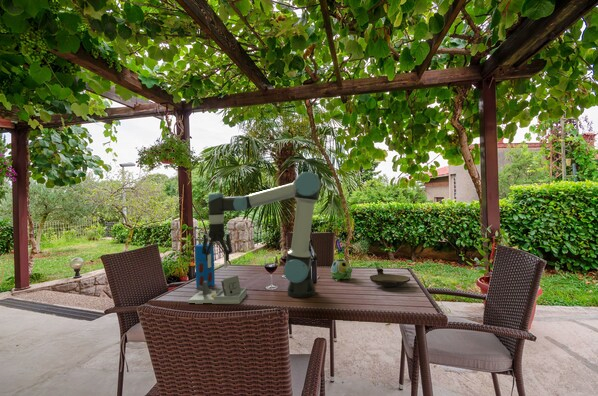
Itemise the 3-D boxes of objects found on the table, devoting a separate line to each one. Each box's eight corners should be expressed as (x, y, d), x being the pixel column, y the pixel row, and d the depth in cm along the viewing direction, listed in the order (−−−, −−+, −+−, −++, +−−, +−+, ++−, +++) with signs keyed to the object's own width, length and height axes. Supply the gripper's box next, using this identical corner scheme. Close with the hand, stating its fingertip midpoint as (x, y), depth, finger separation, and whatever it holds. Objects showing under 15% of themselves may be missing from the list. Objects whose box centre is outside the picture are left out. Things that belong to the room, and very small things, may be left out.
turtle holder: (341, 284, 175) (341, 264, 176) (327, 277, 192) (327, 259, 192) (359, 281, 180) (358, 262, 180) (344, 275, 197) (343, 257, 197)
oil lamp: (369, 291, 161) (369, 277, 161) (369, 277, 190) (369, 265, 190) (413, 293, 156) (412, 278, 156) (406, 278, 185) (406, 265, 185)
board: (246, 294, 163) (246, 287, 163) (239, 303, 148) (239, 296, 148) (200, 294, 165) (200, 288, 165) (188, 303, 150) (188, 296, 150)
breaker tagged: (207, 295, 155) (207, 280, 155) (205, 297, 152) (205, 282, 152) (205, 295, 155) (204, 280, 155) (202, 297, 152) (202, 282, 152)
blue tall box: (218, 285, 182) (216, 244, 182) (202, 289, 174) (200, 246, 174) (208, 282, 189) (207, 243, 190) (192, 286, 182) (191, 245, 182)
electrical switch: (227, 297, 151) (225, 279, 152) (221, 297, 154) (219, 279, 155) (241, 293, 158) (240, 275, 159) (235, 292, 162) (234, 275, 162)
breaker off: (212, 289, 162) (199, 285, 162) (210, 291, 159) (197, 286, 159) (211, 292, 162) (198, 287, 162) (209, 293, 159) (196, 289, 159)
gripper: (238, 222, 156) (239, 265, 156) (200, 223, 158) (201, 265, 158) (234, 223, 149) (235, 268, 149) (193, 224, 151) (195, 269, 150)
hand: (217, 267), depth 153 cm, fingers open, 8 cm apart
